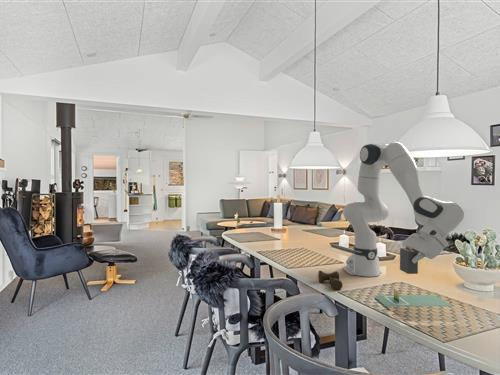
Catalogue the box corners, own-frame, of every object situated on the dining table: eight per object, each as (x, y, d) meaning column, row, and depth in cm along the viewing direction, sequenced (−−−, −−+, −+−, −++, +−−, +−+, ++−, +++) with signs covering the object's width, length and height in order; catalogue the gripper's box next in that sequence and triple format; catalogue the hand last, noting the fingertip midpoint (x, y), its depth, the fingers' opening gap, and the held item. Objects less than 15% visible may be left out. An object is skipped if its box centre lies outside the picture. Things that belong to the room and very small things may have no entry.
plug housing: (399, 269, 142) (400, 245, 142) (409, 269, 142) (409, 245, 142) (407, 273, 135) (408, 248, 135) (417, 273, 135) (418, 248, 135)
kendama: (326, 292, 156) (315, 278, 176) (347, 292, 156) (334, 279, 176) (327, 279, 156) (316, 267, 176) (347, 279, 156) (334, 267, 176)
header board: (374, 298, 145) (374, 295, 145) (434, 298, 145) (434, 294, 145) (387, 310, 132) (387, 306, 132) (453, 309, 132) (453, 305, 132)
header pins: (393, 298, 140) (393, 289, 140) (395, 298, 140) (395, 289, 140) (397, 301, 137) (397, 292, 137) (399, 301, 137) (399, 291, 137)
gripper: (412, 226, 149) (390, 249, 149) (440, 233, 129) (414, 259, 128) (422, 236, 149) (400, 259, 149) (451, 245, 129) (426, 271, 129)
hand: (407, 259), depth 139 cm, fingers closed on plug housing, 7 cm apart
